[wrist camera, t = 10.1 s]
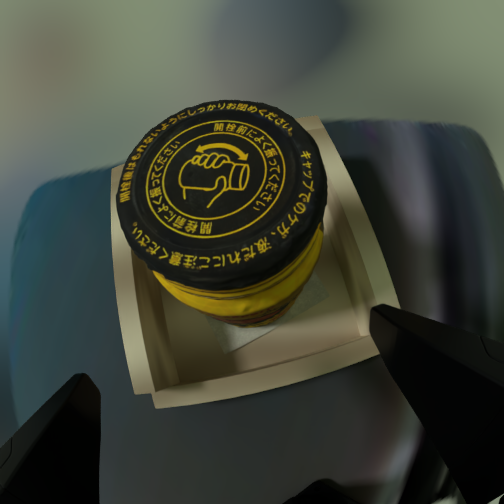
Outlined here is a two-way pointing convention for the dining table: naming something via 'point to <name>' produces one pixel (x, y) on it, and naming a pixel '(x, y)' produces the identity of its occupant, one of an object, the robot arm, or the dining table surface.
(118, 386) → the dining table surface
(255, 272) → the condiment
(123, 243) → the tan square tray
